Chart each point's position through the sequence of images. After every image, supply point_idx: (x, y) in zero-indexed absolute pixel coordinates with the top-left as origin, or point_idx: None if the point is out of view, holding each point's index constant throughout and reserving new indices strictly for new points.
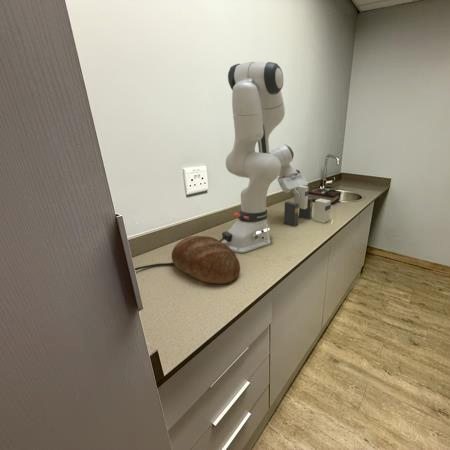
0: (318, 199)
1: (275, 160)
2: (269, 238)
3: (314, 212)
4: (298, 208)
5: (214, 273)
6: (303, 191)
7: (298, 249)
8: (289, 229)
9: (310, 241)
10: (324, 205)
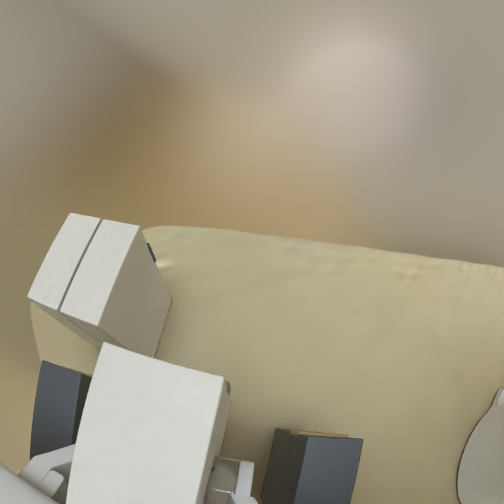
0: (58, 303)
1: None
2: (488, 413)
3: (137, 351)
4: (298, 431)
5: None
6: (220, 423)
7: (476, 293)
8: (365, 428)
9: (417, 284)
10: (142, 248)
